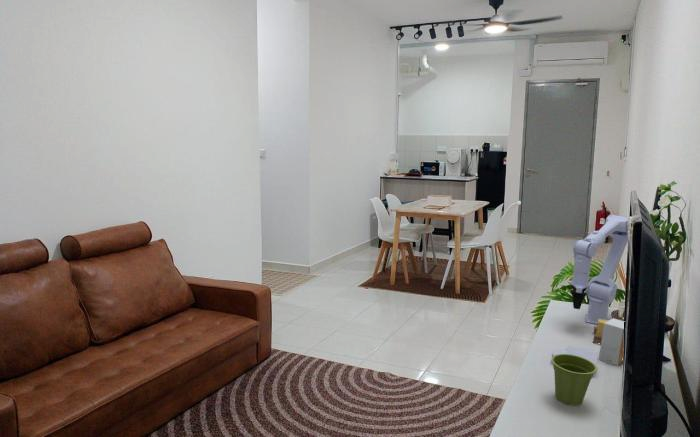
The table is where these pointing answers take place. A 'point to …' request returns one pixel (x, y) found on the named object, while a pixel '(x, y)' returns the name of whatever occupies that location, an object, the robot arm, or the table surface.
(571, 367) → the plant pot
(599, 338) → the notched board
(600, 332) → the ochre block
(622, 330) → the small box
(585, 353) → the wedge on round base
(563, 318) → the table surface
